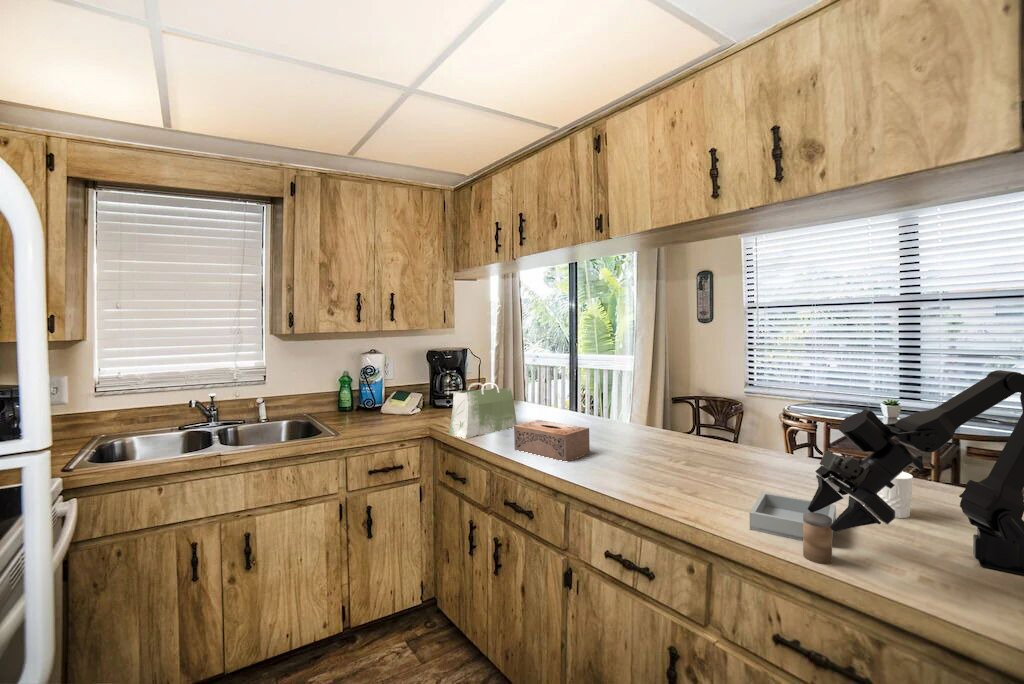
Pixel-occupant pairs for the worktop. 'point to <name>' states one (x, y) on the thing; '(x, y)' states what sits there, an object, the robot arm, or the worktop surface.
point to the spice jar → (817, 538)
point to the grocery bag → (482, 411)
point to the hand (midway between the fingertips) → (820, 519)
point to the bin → (783, 515)
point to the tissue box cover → (552, 439)
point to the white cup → (899, 495)
